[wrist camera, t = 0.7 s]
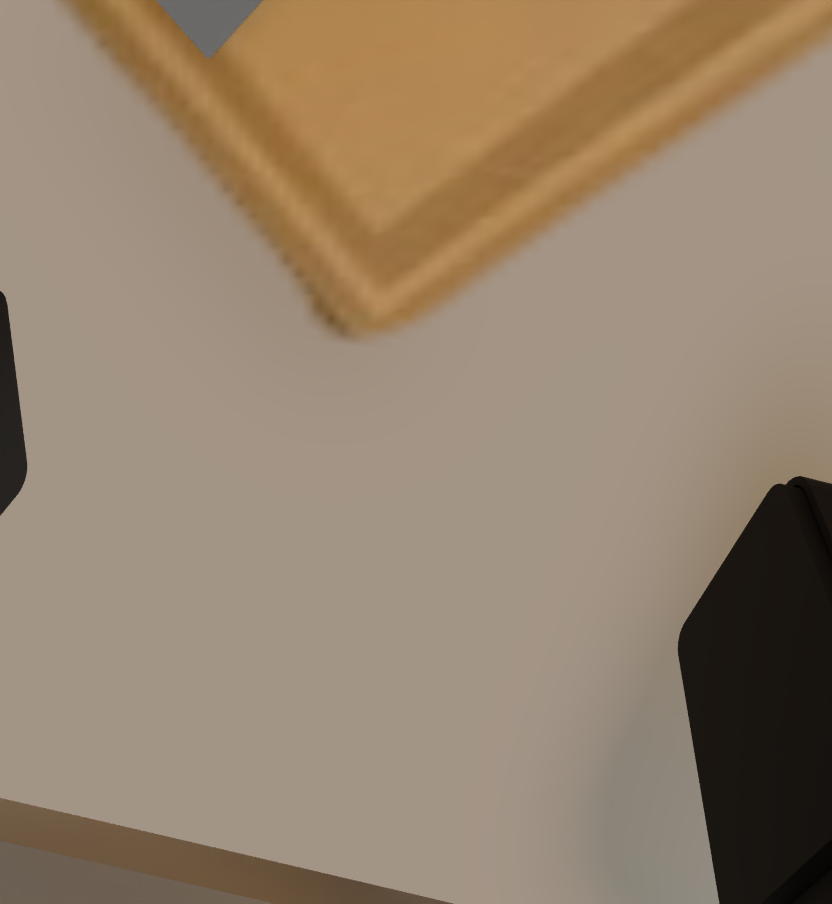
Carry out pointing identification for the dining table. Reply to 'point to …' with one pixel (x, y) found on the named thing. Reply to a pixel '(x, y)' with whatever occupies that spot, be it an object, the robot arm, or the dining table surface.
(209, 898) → the robot arm
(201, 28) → the mat
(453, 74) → the dining table surface
